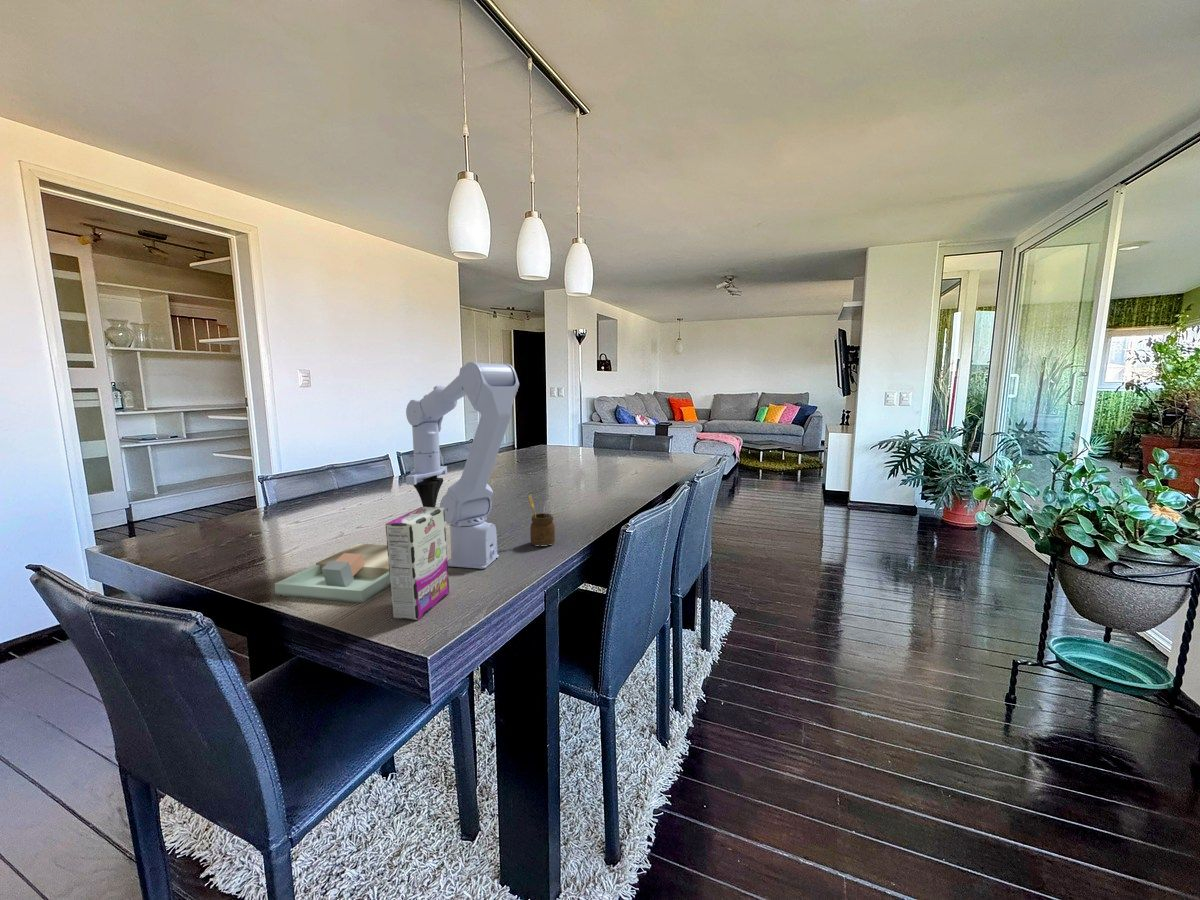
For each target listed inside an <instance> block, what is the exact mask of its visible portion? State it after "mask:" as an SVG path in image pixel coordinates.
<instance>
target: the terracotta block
mask: <svg viewBox="0 0 1200 900" xmlns="http://www.w3.org/2000/svg"><path fill="white" fill-rule="evenodd" d="M336 561H338V562H349V564H350V567H351V571H352V574H353V576H354V575H355V574H356V573H357V572H358V571H359V570H360V569H361V568H362V567H363V566H364V565H365V563H364V560H363V556H362V554H351V553H344V554H342V555H341V556H340V557H339V558H338V559H337V560H336Z"/></svg>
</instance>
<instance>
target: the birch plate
mask: <svg viewBox="0 0 1200 900" xmlns="http://www.w3.org/2000/svg"><path fill="white" fill-rule="evenodd" d="M344 553H351V554H362V556H363V560H364V563H365V565H364V566H363V567H362V568H361V569H360V570H359V571H358V572H357V573H356V574H355V575H354V576H359V577H372V578H379V577H380V576H382V575H384V574H385V573H387V572H389V562H388V550H387V544H373V543H357V544H355V545H353V546H351V547H348V548H346V549H344V550H342V551H340V552H337V553H335V554H333V555H331V556H328V557H326V558H324V559H321V560H320V561H318V562H315V565H320V569H321V573H322V574H323V572H322V568H323V567H324V566H325V565H326V564H328V563H329V562H330V561H336V560H337V559H338V558H339V557H340V556H341V555H342V554H344Z"/></svg>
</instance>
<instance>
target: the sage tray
mask: <svg viewBox="0 0 1200 900" xmlns="http://www.w3.org/2000/svg"><path fill="white" fill-rule="evenodd" d="M353 577H354V580H353V581H352V582H351V583H350V584H349V585H348V586H347V587H338V586H327V584H326V581H325V578H324V575H323V574H322V573H321V569H320V565H316V564H314V565H311V566H310V567H307V568H305V569H303V570H301V571H299V572H296V573H294V574H292V575H291V576H288V577H286V578H284V579H282V580H281V579H280V580H279V581H277V582H275V583H274V591H275V592H274V593H275V596H280V595H282V596H281V597H293V598H301V599H302V598H305V599H314V600H316V599H317V600H326V601H337V602H347V603H356V604H357V603H358V604H359V603H360V604H363V603H364V602H366V601H367V600H370V599H371V598H373V597H374V596H376V595H377V594H378V593H380V592H382V591H383V590H385V589H387V588H388V587H390V573H389V572H387V573H385V574H384V575H382V576H380V577H379V578H372V577H359V576H353Z"/></svg>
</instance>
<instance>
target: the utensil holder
mask: <svg viewBox="0 0 1200 900" xmlns="http://www.w3.org/2000/svg"><path fill="white" fill-rule="evenodd" d="M527 498H528V501H529V505H530V508H531V509H532V513H533V515H532V516H531V523H530V528H529V531H530V532H529V533H530V534H529V535H530V544H531V545H532V544H533V545H539V546H541V545H549V544H553V543H554V542H555V543H556V528H555V527H556V526H555V523H554V516H553V512H554V507H555V506H554V505H555V503H554V502H553V500H551V499H548V500H546V501H545V502H544V503H545V504H547V505H549V502H550V506H549V507H550V508H552V509H551V510H549V511H548V512H540V513H536V511H535V504H534V500H533V497H532V494H529V495H528V496H527ZM552 503H553V505H552ZM552 506H553V507H552ZM545 507H546V508H545ZM543 510H548V506H546V505H544V506H543ZM555 543H554V544H555ZM554 544H553V545H554ZM533 545H532V546H533Z"/></svg>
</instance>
